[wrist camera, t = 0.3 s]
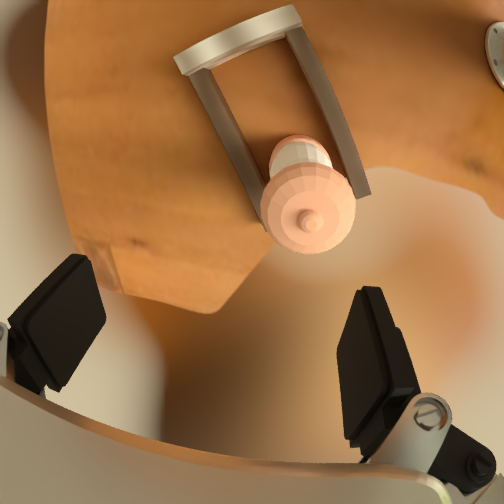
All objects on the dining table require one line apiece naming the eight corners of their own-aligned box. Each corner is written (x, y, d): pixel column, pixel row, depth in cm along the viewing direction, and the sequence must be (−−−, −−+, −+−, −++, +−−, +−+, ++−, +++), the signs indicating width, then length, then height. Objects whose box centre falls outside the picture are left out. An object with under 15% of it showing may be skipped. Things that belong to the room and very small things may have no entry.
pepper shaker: (267, 186, 37) (250, 266, 21) (272, 131, 34) (259, 162, 17) (323, 193, 37) (351, 277, 20) (331, 139, 33) (376, 179, 17)
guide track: (291, 15, 26) (292, 3, 22) (365, 186, 36) (375, 199, 31) (187, 61, 30) (173, 56, 26) (267, 222, 40) (264, 239, 35)
